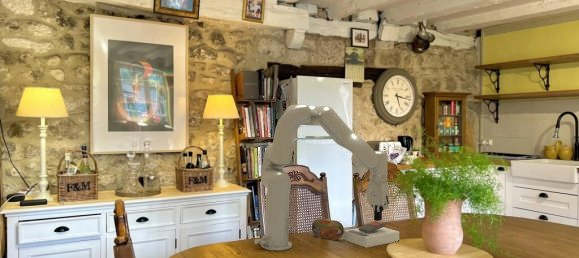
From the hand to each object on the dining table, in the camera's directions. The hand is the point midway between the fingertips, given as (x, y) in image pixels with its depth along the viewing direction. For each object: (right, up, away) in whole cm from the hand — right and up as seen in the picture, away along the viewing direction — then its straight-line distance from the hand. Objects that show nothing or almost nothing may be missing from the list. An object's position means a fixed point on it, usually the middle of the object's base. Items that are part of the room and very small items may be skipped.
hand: (377, 220), depth 190 cm
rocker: (-3, -3, -2) cm, 5 cm away
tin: (-22, -8, 0) cm, 24 cm away
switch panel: (-3, -8, -2) cm, 9 cm away
